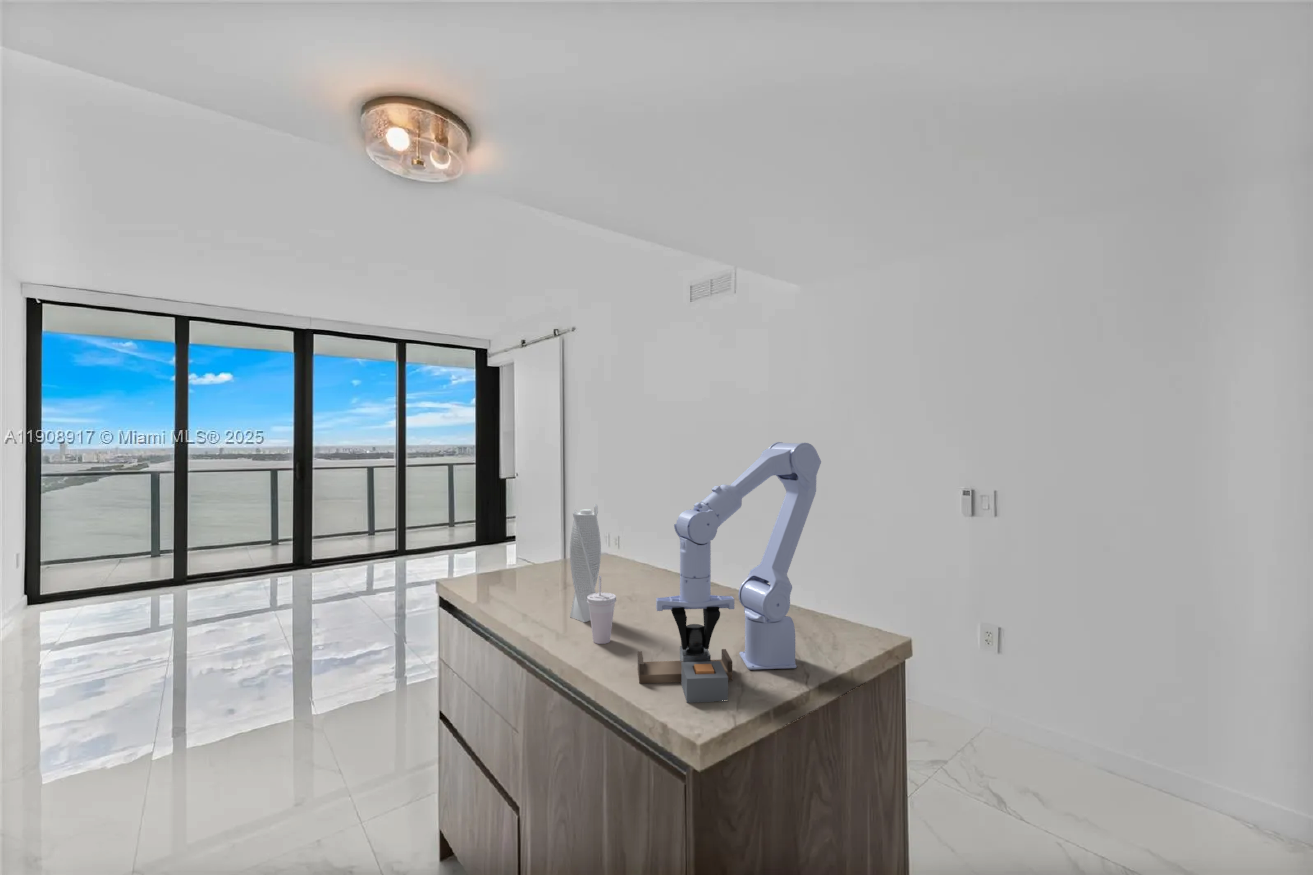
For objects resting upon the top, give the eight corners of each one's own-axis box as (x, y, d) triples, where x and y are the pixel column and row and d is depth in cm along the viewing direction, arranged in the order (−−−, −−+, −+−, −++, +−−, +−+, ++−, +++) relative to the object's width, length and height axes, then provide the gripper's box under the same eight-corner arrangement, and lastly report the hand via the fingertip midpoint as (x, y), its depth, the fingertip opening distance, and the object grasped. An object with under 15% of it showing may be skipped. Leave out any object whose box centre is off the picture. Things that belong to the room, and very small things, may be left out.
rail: (725, 667, 110) (725, 649, 110) (732, 680, 104) (732, 661, 104) (637, 669, 109) (637, 651, 109) (639, 683, 103) (639, 664, 103)
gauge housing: (719, 683, 103) (719, 661, 103) (728, 701, 96) (728, 677, 96) (681, 684, 102) (681, 662, 102) (686, 702, 95) (686, 678, 95)
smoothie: (601, 633, 129) (601, 571, 129) (622, 640, 125) (622, 576, 124) (580, 641, 124) (580, 576, 124) (601, 648, 120) (601, 581, 119)
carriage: (705, 659, 109) (705, 622, 109) (710, 670, 104) (710, 631, 104) (679, 660, 109) (680, 623, 109) (683, 671, 104) (683, 632, 104)
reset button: (710, 684, 101) (711, 663, 101) (714, 691, 98) (714, 670, 98) (694, 684, 101) (694, 664, 101) (696, 692, 98) (696, 671, 98)
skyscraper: (608, 617, 140) (608, 503, 140) (584, 625, 134) (584, 506, 134) (587, 611, 145) (587, 500, 145) (563, 617, 140) (564, 503, 140)
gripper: (729, 569, 111) (728, 638, 111) (654, 570, 110) (654, 640, 110) (737, 578, 104) (736, 652, 104) (657, 579, 103) (657, 654, 103)
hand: (695, 647), depth 107 cm, fingers closed on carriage, 3 cm apart
